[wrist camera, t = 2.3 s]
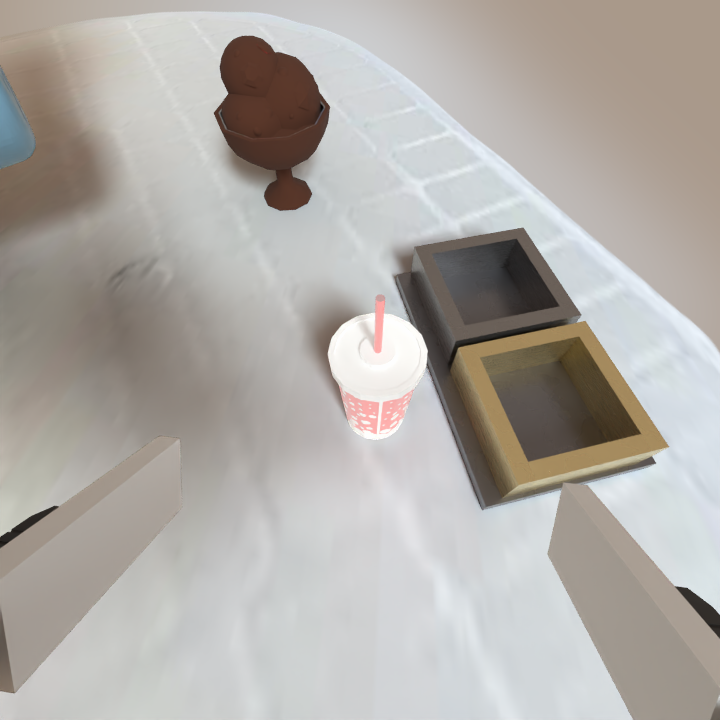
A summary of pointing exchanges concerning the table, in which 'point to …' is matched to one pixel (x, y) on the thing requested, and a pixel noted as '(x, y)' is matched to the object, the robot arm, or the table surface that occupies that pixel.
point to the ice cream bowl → (271, 115)
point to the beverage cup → (377, 369)
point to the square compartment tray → (521, 371)
